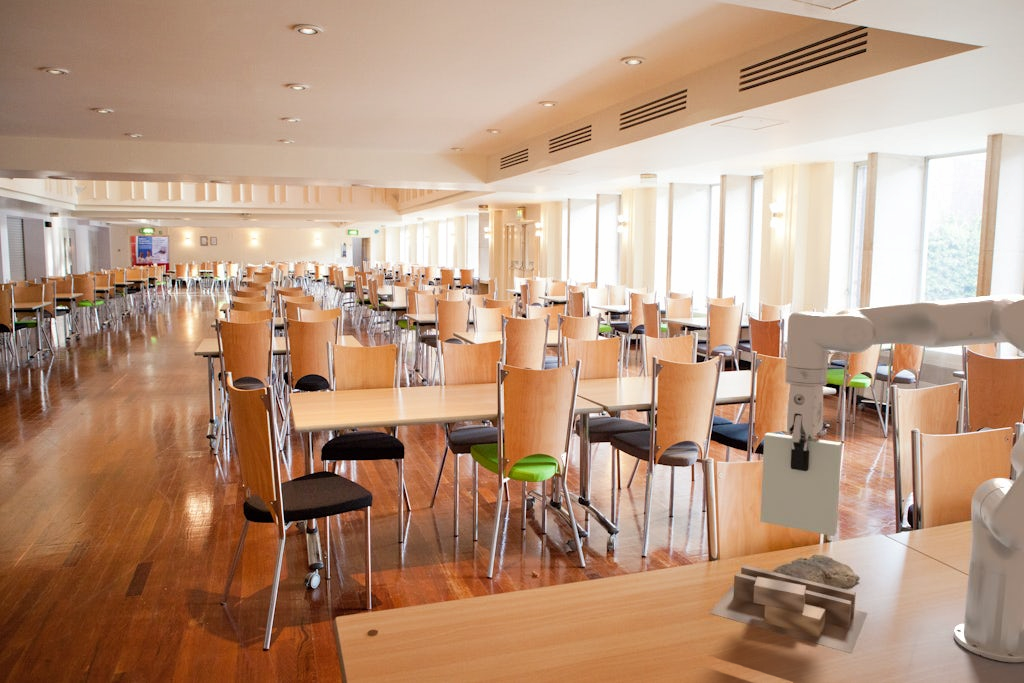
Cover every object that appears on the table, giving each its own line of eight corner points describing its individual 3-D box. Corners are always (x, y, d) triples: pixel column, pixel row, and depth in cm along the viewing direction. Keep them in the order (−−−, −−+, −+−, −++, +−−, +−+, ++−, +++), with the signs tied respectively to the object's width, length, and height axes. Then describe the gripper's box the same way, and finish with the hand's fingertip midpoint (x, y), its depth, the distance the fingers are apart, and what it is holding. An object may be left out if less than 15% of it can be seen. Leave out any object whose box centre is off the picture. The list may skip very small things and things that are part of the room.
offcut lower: (824, 626, 143) (825, 608, 143) (818, 637, 139) (819, 619, 139) (771, 611, 149) (772, 595, 149) (764, 622, 145) (765, 605, 144)
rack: (867, 620, 149) (869, 589, 148) (850, 661, 134) (853, 626, 133) (736, 586, 163) (738, 558, 162) (709, 620, 148) (710, 589, 148)
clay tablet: (795, 606, 155) (868, 589, 162) (796, 584, 155) (869, 568, 162) (750, 580, 168) (820, 565, 175) (751, 559, 168) (821, 545, 175)
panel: (836, 532, 146) (841, 442, 144) (834, 536, 144) (839, 445, 142) (763, 518, 154) (767, 432, 151) (760, 521, 152) (764, 434, 149)
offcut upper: (804, 602, 145) (805, 585, 145) (802, 612, 141) (803, 595, 141) (756, 593, 149) (757, 576, 149) (753, 602, 145) (754, 585, 145)
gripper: (817, 383, 136) (812, 481, 139) (835, 371, 150) (829, 461, 152) (775, 379, 140) (770, 474, 143) (795, 368, 154) (791, 455, 156)
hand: (801, 467), depth 147 cm, fingers closed on panel, 2 cm apart
